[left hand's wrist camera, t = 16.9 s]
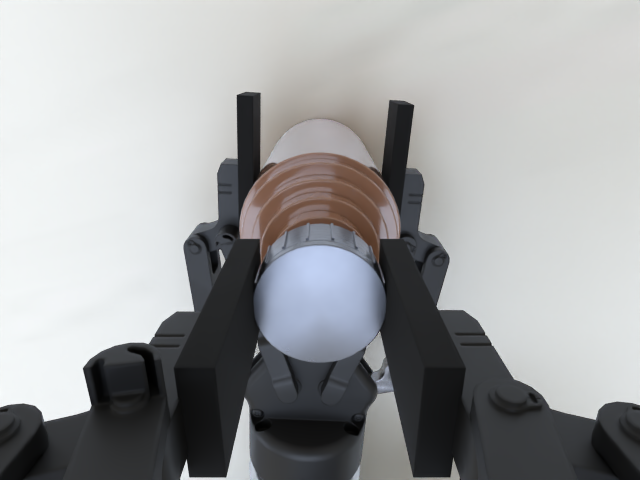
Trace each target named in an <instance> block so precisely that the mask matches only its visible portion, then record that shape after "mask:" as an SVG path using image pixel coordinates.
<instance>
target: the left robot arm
mask: <svg viewBox="0 0 640 480" xmlns="http://www.w3.org/2000/svg"><path fill="white" fill-rule="evenodd" d="M260 264H261V253H260V239H236V240H235V242H234V244H233V246H232V248H231V250H230V253H229V255H228V257H227V259H226V261H225V263H224V265H223V267H222V269H221V271H220V273H219V275H218V277H217V279H216V281H215V283H214V286H213V288H212V290H211V292H210V294H209V296H208V298H207V300H206V302H205V304H204V306H203V308H202V310H201V312H176V313H174V314H173V315H172V316H170V317H169V318H167V319H166V320H165V321H163V322H162V324H161V325H160V327H159V329H158V330H157V332H156V333H155V337H153V338H152V340H151V342H150V343H149V344H146V343H127V344H122V345H117V346H114V347H111V348H109V349H106V350H104V351H102V352H100V353H99V354H97V355H96V356H94V357H93V358H91V359H90V360H89V361H88V363H87V364H86V365H85V366H84V368H83V371H84V375H85V379H86V383H87V388H88V392H89V396H90V401H91V405H92V406H91V409H90V411H87V412H84V413H80V414H77V415H73V416H68V417H64V418H60V419H55V420H51V421H46V422H44V419H43V416H42V412H41V411H40V410H39V409H38V408H37V407H35V406H33V405H28V404H14V405H7V406H4V407H0V480H180V477H181V474H182V471H183V468H184V465H185V462H186V459H187V464H188V471H189V477H226V476H227V472H228V467H229V463H230V459H231V454H232V450H233V445H234V441H235V437H236V432H237V428H238V423H239V419H240V415H241V410H242V406H243V401H244V397H245V393H246V388H247V384H248V379H249V375H250V371H251V366H252V362H253V357H254V353H255V349H256V344H257V340H258V335H259V331H260V330H259V328H258V326H257V324H256V321H255V318H254V304H253V293H254V288H255V279H256V276H257V272H258V269H259V266H260ZM379 264H380V267H381V270H382V274H383V277H384V280H385V285H384V286H385V290H386V294H387V299H386V315H385V320H384V323H383V325H382V327H381V329H380V332H381V337H382V341H383V345H384V350H385V354H386V359H387V363H388V367H389V372H390V376H391V381H392V385H393V389H394V394H395V398H396V403H397V407H398V411H399V416H400V420H401V425H402V429H403V433H404V438H405V442H406V447H407V451H408V455H409V460H410V464H411V469H412V473H413V477H450V476H451V469H452V462H453V458H454V461H455V464H456V467H457V470H458V472H459V475H460V480H640V405H636V404H633V403H625V402H613V403H608V404H605V405H604V406H603V407H602V408H600V409H599V411H598V415H597V418H596V420H593V419H589V418H584V417H580V416H575V415H571V414H566V413H562V412H559V411H556V410H552V409H550V408H549V405H548V404H547V402H546V401H545V399H544V398H543V396H542V395H541V394H539V393H538V392H537V391H536V390H534V389H533V388H532V387H530V386H528V385H526V384H524V383H522V382H519V381H517V380H514V379H513V377H512V376H511V374H510V372H509V371H508V369H507V368H506V366H505V364H504V363H503V361H502V359H501V358H500V356H499V355H498V353H497V351H496V350H495V348H494V347H493V346H492V345H491V342H490V340H489V339H488V337H487V336H485V332H484V330H483V329H482V327H481V326H480V324H479V322H478V321H477V320H476V319H474V318H473V317H472V316H470V315H469V314H468V313H466V312H465V311H463V310H438V309H437V307H436V305H435V303H434V301H433V299H432V296H431V294H430V292H429V290H428V288H427V286H426V284H425V282H424V280H423V278H422V276H421V274H420V272H419V270H418V268H417V266H416V263H415V261H414V259H413V257H412V255H411V253H410V251H409V249H408V247H407V245H406V243H405V241H404V239H380V248H379Z"/></svg>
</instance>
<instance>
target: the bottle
mask: <svg viewBox="0 0 640 480" xmlns="http://www.w3.org/2000/svg"><path fill="white" fill-rule="evenodd" d="M307 223H310V224H320V223H321V224H331V223H333V225H335V226H340V227H342V228H345V229H347V230H349V231H351V232H352V231H354V232H355V233H356V235H357V236H359V237H360V238H361V239H362V240H363V241H364V242H365V243H366V244H367V245H368V246H370V245H371V247H372V250H373V253H374V255H375V257H376V260H377V262H378V265H379V248H380V239H400V216H399V212H398V208H397V205H396V202H395V200H394V197H393V195H392V193H391V192H390V190H389V188H388V186H387V185H386V183H385V181H384V179H383V178H382V176H381V174H380V172H379V170H378V169H377V167H376V165H375V163H374V162H373V160H372V158H371V156H370V154H369V153H368V151H367V149H366V147H365V146H364V144H363V142H362V141H361V139H360V138H359V137H358V135H357V134H356V133H355V132H354V131H352V130H351V129H350V128H349V127H347V126H345V125H343V124H342V123H339V122H337V121H333V120H329V119H311V120H307V121H303V122H301V123H299V124H296V125H295V126H293V127H291V128H290V129H289V130H288V131H286V132H285V133H284V134H283V135H282V137H281V138H280V139H279V141H278V142H277V144H276V145H275V147H274V149H273V151H272V152H271V154H270V156H269V158H268V159H267V161H266V163H265V165H264V166H263V168H262V170H261V172H260V174H259V175H258V177H257V179H256V181H255V182H254V184H253V186H252V188H251V189H250V191H249V193H248V195H247V197H246V199H245V201H244V204H243V207H242V211H241V216H240V227H239V231H240V239H260V253H261V264H262V262H263V259H264V257H265V255H266V253H267V250H268V246H269V245H270V246H272V244H273V243H274V242H275V241H276V240H277V239H278V238H280V237H281V236H282V235H284V234H285V231H288V232H289V231H291V230H293V229H295V228H298V227H300V226H304V225H307Z"/></svg>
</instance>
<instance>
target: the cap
mask: <svg viewBox="0 0 640 480" xmlns="http://www.w3.org/2000/svg"><path fill="white" fill-rule="evenodd" d="M384 285H385V280H384V277H383V274H382V270H381V267H380V264H379V265H378V262H377V260H376V257H375V255H374V253H373V250H372V247H371V245H370V246H368V245H367V244H366V243H365V242H364V241H363V240H362V239H361V238H360V237H359V236H357V235H356V233H355V232H354V231H352V232H351V231H349V230H347V229H345V228H342V227H340V226H335V225H333V223H331V224H321V223H320V224H310V223H307V225H304V226H300V227H298V228H295V229H293V230H291V231H289V232H288V231H285V234H284V235H282V236H281V237H280V238H278V239H277V240H276V241H275V242H274V243H273V244H272V246H270V245H269V246H268V250H267V253H266V255H265V257H264V259H263V262H262V264H260V266H259V269H258V272H257V276H256V279H255V288H254V293H253V304H254V318H255V321H256V324H257V326H258V328H259V330H260V331H261V333H262V334H263V336H264V337H265V339H266V340H267V341H268V342H269V343H270V344H271V345H272V346H274V347H275V348H276V349H277V350H279V351H280V352H282V353H284V354H285V355H288V356H290V357H292V358H295V359H298V360H301V361H306V362H314V363H326V362H334V361H338V360H342V359H345V358H348V357H350V356H352V355H354V354H356V353H358V352H359V351H361V350H362V349H364V348H365V347H366V346H367V345H369V344H370V343H371V341H372V340H373V339H374V338H375V337H376V335H377V334H378V333H379V331H380V329H381V327H382V325H383V323H384V320H385V315H386V299H387V294H386V290H385V286H384Z"/></svg>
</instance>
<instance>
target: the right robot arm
mask: <svg viewBox="0 0 640 480" xmlns="http://www.w3.org/2000/svg"><path fill="white" fill-rule="evenodd" d="M413 110H414V105H413V104H410V103H408V102H405V101H396V100H390V101H389V110H388V120H387V129H386V138H385V148H384V157H383V167H382V178H383V179H384V181H385V183H386V185H387V186H388V188H389V190H390V192H391V193H392V195H393V197H394V200H395V202H396V205H397V208H398V212H399V216H400V239H404V241H405V243H406V245H407V247H408V249H409V251H410V253H411V255H412V257H413V259H414V261H415V263H416V266H417V268H418V270H419V272H420V274H421V276H422V278H423V280H424V282H425V284H426V286H427V288H428V290H429V292H430V294H431V296H432V299H433V301H434V303H435V305H436V306H437V302H438V299H439V295H440V292H441V288H442V285H443V282H444V278H445V275H446V271H447V268H448V265H449V256H448V254H447V252H446V251H445V249H444V248H443V246H442V245H441V243H440V242H439V240H438V239H437V238H436V237H435V236H434V235H431V234H424V233H422V232H420V231H418V225H419V218H420V211H421V203H422V197H423V196H422V195H423V190H424V181H423V178H422V174H421V173H420V172H419V171H418V170H417V169H411V168H406V166H407V158H408V150H409V142H410V134H411V126H412V118H413ZM237 143H238V159H227V158H226V159H225V160H224V161H223V162H222V163H221V165H220V168H219V170H218V173H217V179H218V211H219V219H218V220H217V221H214V222H211V223H200V224H199V225H198V226H197V227H196V228H195V230H194V231H193V232H192V233H191V235H190V236H189V237H188V239H187V240H186V241H185V243H184V254H185V259H186V265H187V271H188V276H189V282H190V288H191V293H192V299H193V305H194V310H195V312H201V310H202V308H203V306H204V304H205V302H206V300H207V298H208V296H209V294H210V292H211V290H212V288H213V286H214V283H215V281H216V279H217V277H218V275H219V273H220V271H221V262H220V255H219V249H221V250H222V253H223V255H224V257H225V260H226V259H227V257H228V255H229V253H230V250H231V248H232V246H233V244H234V242H235V240H236V239H240V231H239V227H240V216H241V211H242V207H243V204H244V201H245V199H246V197H247V195H248V193H249V191H250V189H251V188H252V186H253V184H254V182H255V181H256V179H257V177H258V175H259V174H260V93H254V92H245V93H242V94H239V95H237ZM258 347H259V350H260V352H259V353H258V354H257V355H256V357H255V358H254V359H253V362H252V366H251V371H250V375H249V379H248V384H247V388H246V393H245V398H246V400H247V402H248V404H249V409H250V457H251V459H250V480H359V476H360V462H361V456H362V447H363V439H364V431H365V422H366V414H367V410H368V408H369V407H370V405H371V404H372V403H373V402H374V401H375V399H376V397H377V394H380V393H387V392H393V391H394V389H393V385H392V381H391V376H390V372H389V367H388V363H387V359H386V357H385V359H384V360H383V363H382V367H381V368H380V369H379V370H378V371H376V372H373V371H372V369H371V368H370V367H369V365H368V364H367V363H366V361H365V360H364V358H363V355H364V353H365V350H366V347H365V348H364V349H362V350H361V351H359V352H358V353H356V354H354V355H352V356H350V357H348V358H345V359H342V360H338V361H334V362H326V363H314V362H306V361H301V360H298V359H295V358H292V357H290V356H288V355H285V354H284V353H282V352H280V351H279V350H277V349H276V348H275V347H274V346H272V345H271V344H270V343H269V342H268V341H267V340H266V339H265V337H264V336H263V334H262V333H261V331H259V335H258Z"/></svg>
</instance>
